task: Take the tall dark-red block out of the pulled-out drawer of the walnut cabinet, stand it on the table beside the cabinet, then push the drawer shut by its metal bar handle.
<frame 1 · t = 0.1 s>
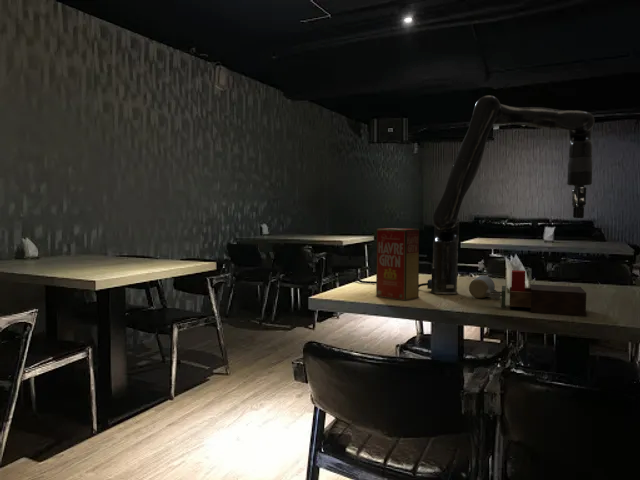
hand: (578, 218, 171), 29 cm above the table, tool pointing down, fingers open, 8 cm apart
block: (517, 301, 160), point 2 cm above the table, touching drawer
ceramic mug: (485, 298, 178), on the table
drawer: (516, 296, 160), point 4 cm above the table, slide at 7.5 cm, touching block
food packaging: (397, 297, 179), on the table
cabinet: (555, 310, 156), on the table
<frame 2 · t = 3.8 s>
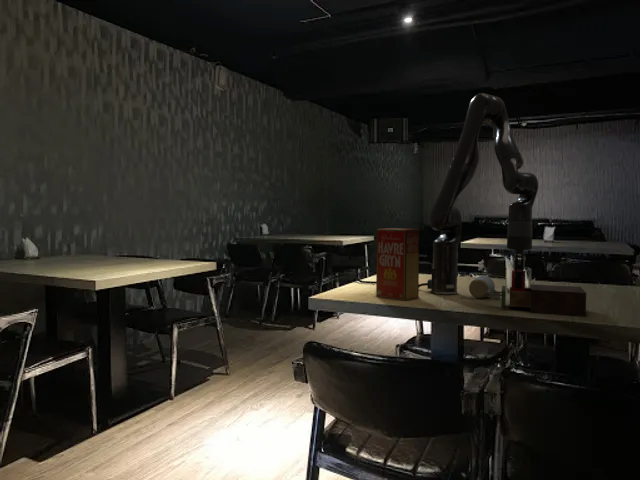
hand: (518, 287, 159), 7 cm above the table, tool pointing down, fingers closed on block, 4 cm apart
block: (517, 301, 160), point 2 cm above the table, touching drawer, gripper
everything else where it was.
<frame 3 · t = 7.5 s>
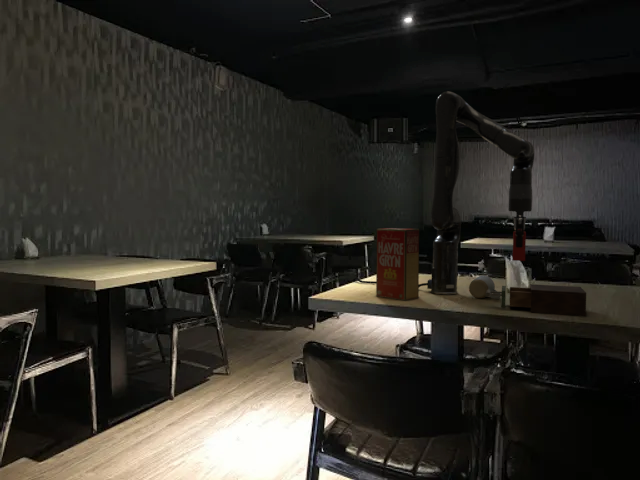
hand: (519, 246, 172), 19 cm above the table, tool pointing down, fingers closed on block, 4 cm apart
block: (518, 260, 172), point 14 cm above the table, touching gripper
drawer: (516, 296, 160), point 4 cm above the table, slide at 7.5 cm
everything else where it was.
when the fingers open (5 cm above the table, at t = 11.1 s): block stays where it is, on the table.
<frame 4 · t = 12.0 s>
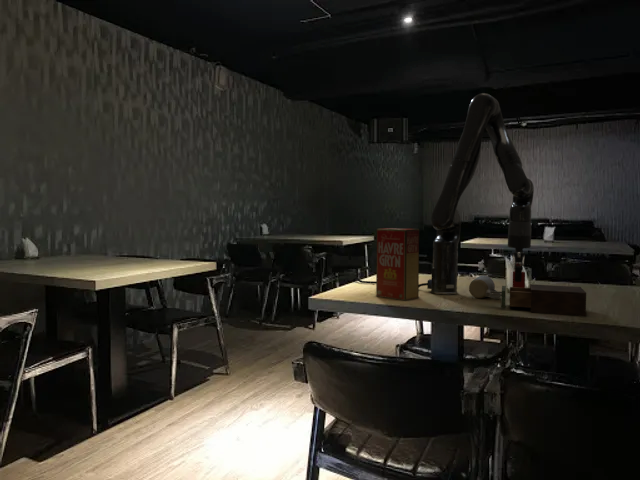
hand: (517, 280, 173), 7 cm above the table, tool pointing down, fingers open, 8 cm apart
block: (518, 300, 174), on the table
everything else where it was.
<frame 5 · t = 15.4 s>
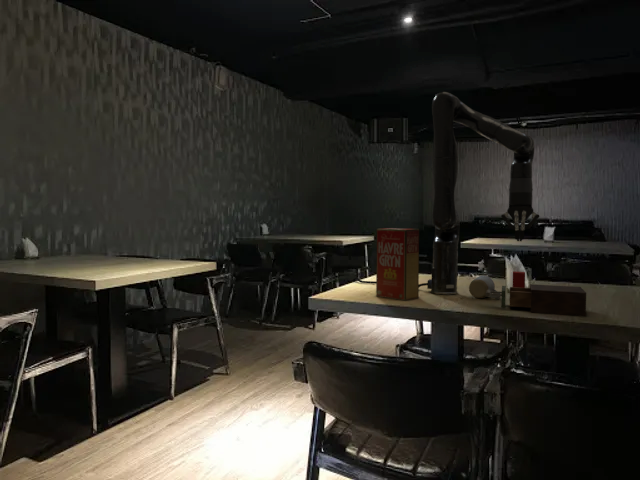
hand: (519, 241, 172), 21 cm above the table, tool pointing down, fingers closed
nothing on the table moved.
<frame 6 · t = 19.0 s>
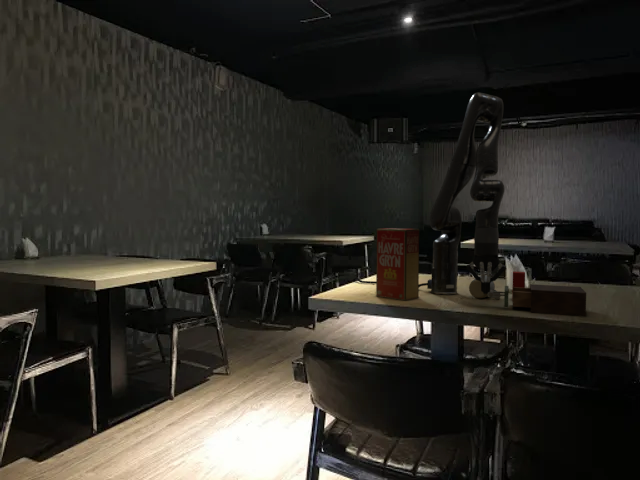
hand: (485, 293, 162), 4 cm above the table, tool pointing down, fingers closed
drawer: (519, 297, 159), point 4 cm above the table, slide at 6.6 cm, touching gripper
everything else where it was.
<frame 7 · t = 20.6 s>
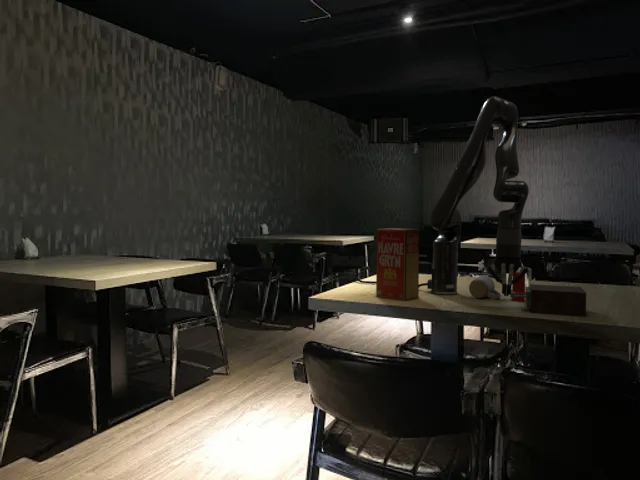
hand: (506, 295, 160), 4 cm above the table, tool pointing down, fingers closed
drawer: (541, 298, 157), point 4 cm above the table, slide at 0.0 cm, touching cabinet, gripper
everything else where it was.
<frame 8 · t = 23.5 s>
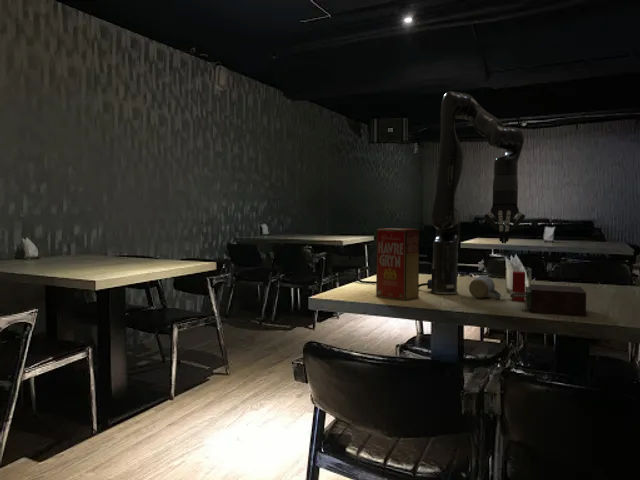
hand: (503, 243, 159), 21 cm above the table, tool pointing down, fingers closed
drawer: (541, 298, 157), point 4 cm above the table, slide at 0.0 cm
everything else where it was.
at the end: block inside the target area (0.2 cm from its centre), on the table; block tilted 0°; drawer slide at 0.0 cm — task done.
